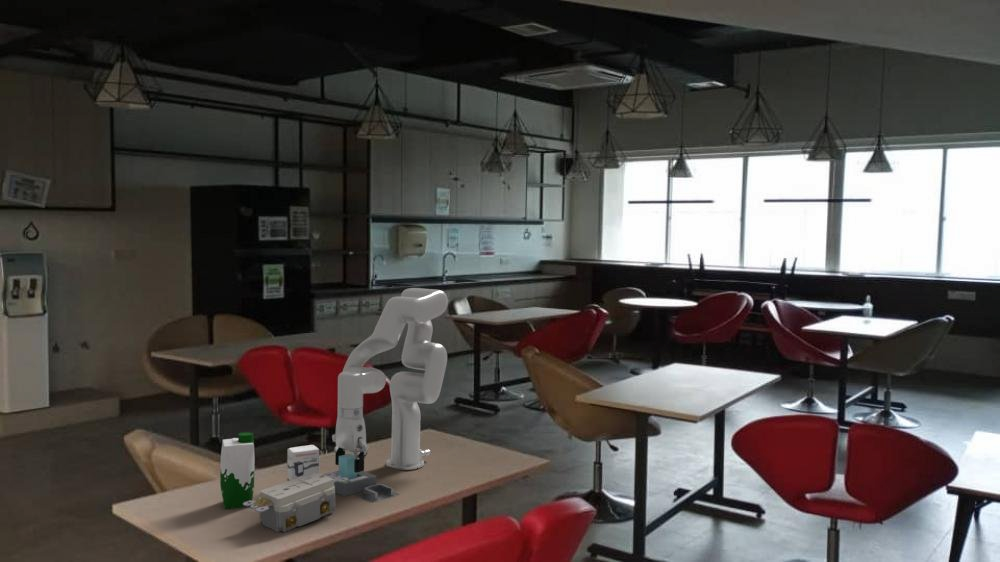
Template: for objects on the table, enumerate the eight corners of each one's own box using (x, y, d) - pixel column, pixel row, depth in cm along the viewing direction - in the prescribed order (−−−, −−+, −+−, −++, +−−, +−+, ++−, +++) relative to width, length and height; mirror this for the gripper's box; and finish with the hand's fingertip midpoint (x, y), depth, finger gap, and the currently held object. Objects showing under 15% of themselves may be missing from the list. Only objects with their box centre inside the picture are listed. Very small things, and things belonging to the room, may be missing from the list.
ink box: (291, 490, 228) (292, 452, 227) (286, 485, 232) (287, 447, 231) (319, 486, 233) (319, 448, 232) (313, 481, 237) (314, 444, 236)
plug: (348, 485, 234) (349, 453, 233) (357, 488, 231) (357, 456, 231) (337, 488, 231) (338, 456, 230) (346, 491, 228) (346, 459, 228)
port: (353, 479, 240) (353, 465, 239) (376, 488, 231) (376, 474, 231) (320, 487, 231) (320, 473, 231) (343, 497, 223) (343, 482, 222)
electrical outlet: (354, 509, 213) (353, 474, 212) (265, 545, 191) (263, 507, 190) (328, 498, 220) (327, 465, 219) (239, 532, 199) (237, 495, 197)
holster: (383, 489, 231) (383, 481, 231) (399, 496, 225) (400, 488, 225) (356, 497, 224) (356, 488, 223) (372, 504, 218) (372, 495, 218)
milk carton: (255, 507, 213) (256, 437, 212) (221, 510, 210) (221, 439, 209) (252, 496, 221) (253, 429, 220) (219, 500, 218) (219, 431, 217)
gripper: (377, 415, 227) (376, 471, 228) (343, 405, 239) (343, 458, 240) (357, 419, 221) (356, 477, 222) (323, 409, 233) (322, 463, 234)
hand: (349, 467), depth 231 cm, fingers open, 9 cm apart
